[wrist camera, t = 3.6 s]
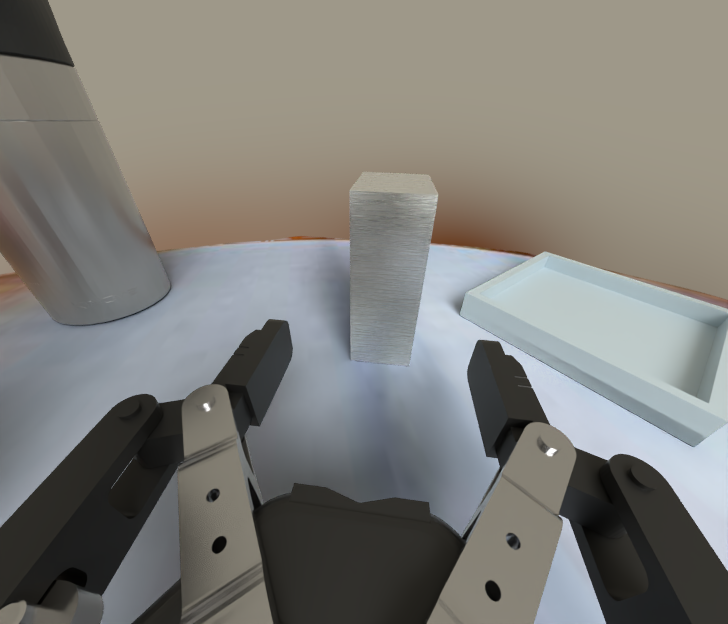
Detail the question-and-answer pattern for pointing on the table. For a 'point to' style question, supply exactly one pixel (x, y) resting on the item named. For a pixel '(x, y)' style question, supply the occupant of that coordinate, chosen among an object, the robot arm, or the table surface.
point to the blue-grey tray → (615, 339)
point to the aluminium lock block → (388, 262)
